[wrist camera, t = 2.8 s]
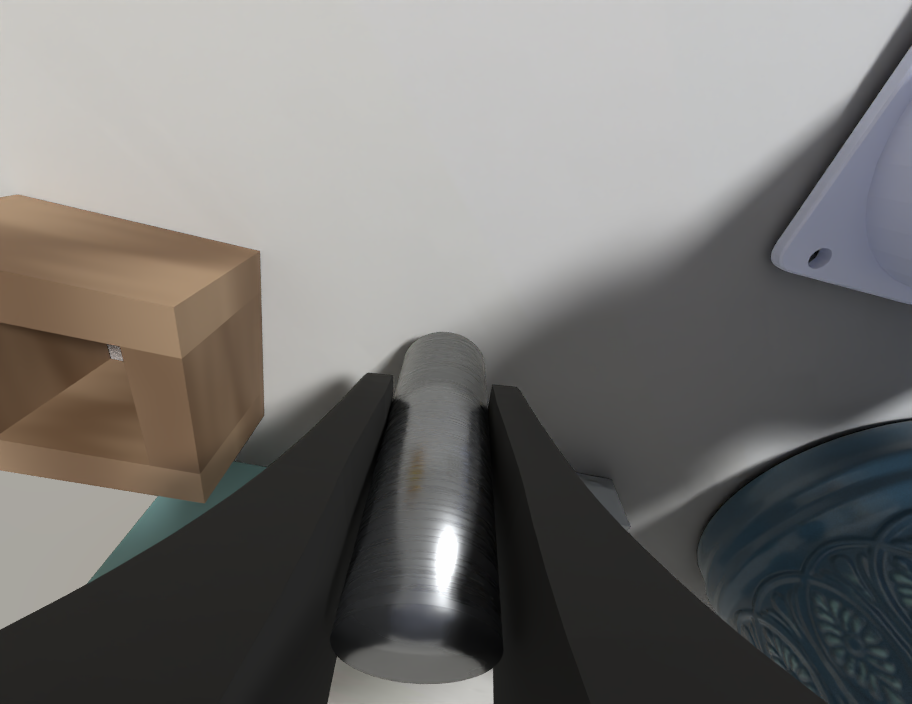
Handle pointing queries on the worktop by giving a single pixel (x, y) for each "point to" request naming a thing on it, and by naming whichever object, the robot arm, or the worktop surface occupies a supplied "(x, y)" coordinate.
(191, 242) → the brown wooden square frame
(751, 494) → the canister
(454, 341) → the cylinder
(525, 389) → the worktop surface
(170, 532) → the teal block
